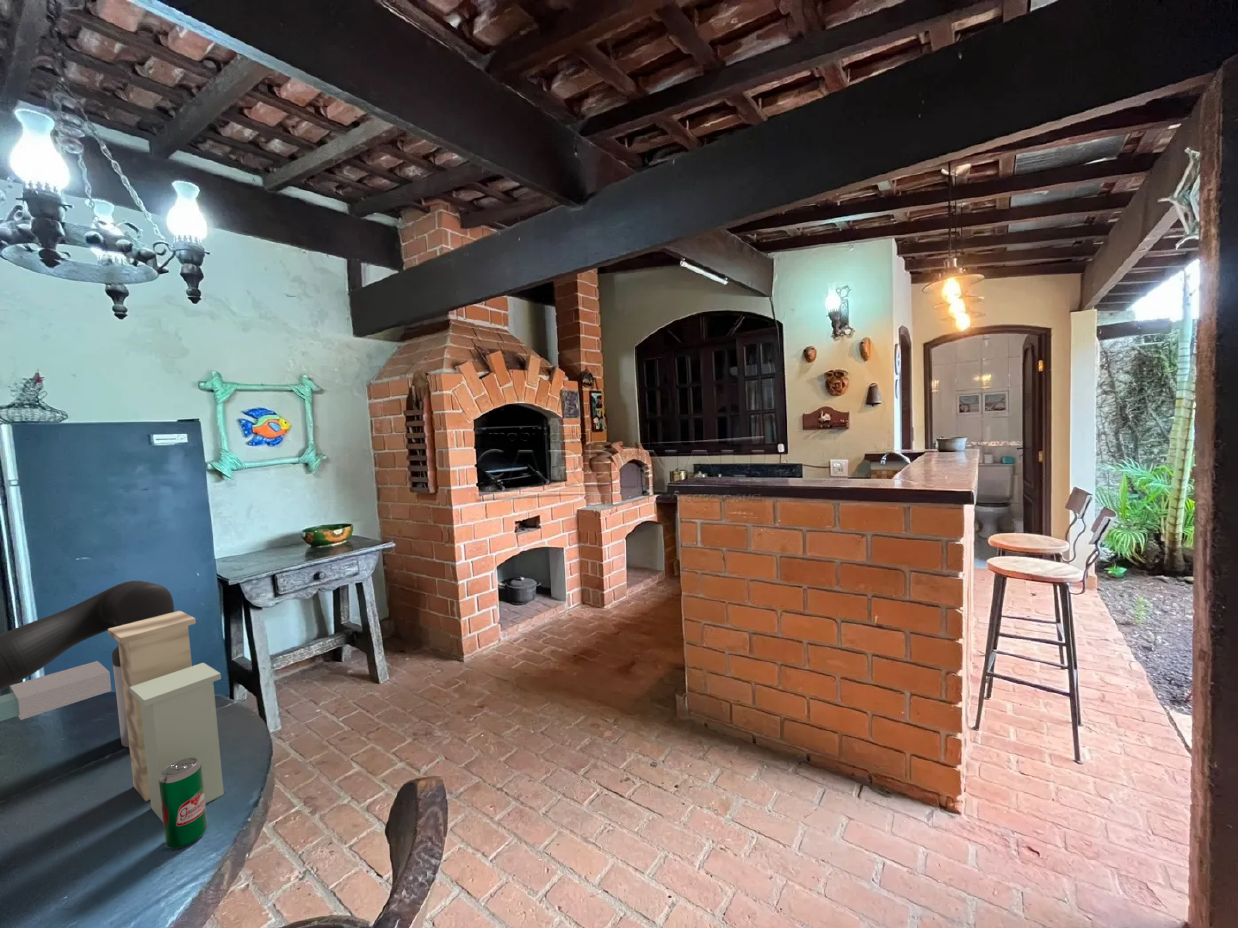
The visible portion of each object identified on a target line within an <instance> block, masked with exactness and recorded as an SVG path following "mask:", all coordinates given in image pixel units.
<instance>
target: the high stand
mask: <svg viewBox="0 0 1238 928" xmlns="http://www.w3.org/2000/svg"><path fill="white" fill-rule="evenodd" d="M196 623H197V621H196V618H195V617H194V616H192V615H189V614H188V613H186V612H184V611H182V610H177V611H174V612H172V613H168V614H164V615H160V616H156V617H153V618H149V619H145V620H141V621H137V622H133V623H129V624H125V625H121V626H117V627H113V628H109V629H108V631H107V633H108V636H110V637H111V638H113V639H114V640H116V642H117V647H118V646H119V656H120V665H121V674H122V683H123V692H124V702H125V711H126V720H127V729H128V738H129V747H128V748H129V754H130V755H129V756H130V763H131V764H130V765H131V773H132V782H133V785H132V786H133V788H134V789H135V790H136V791H137V792H138V793H139V795H140V796H141V797H142V799H143V800H144V801H145V802H147V801H149V800H150V790H149V781H148V772H147V762H146V753H145V743H144V734H143V724H142V715H141V706H140V701H139V700H137V699H136V698H135V697H134V696H133V695H132V694H131V693H130V688H129V687H131V686H134V685H137V684H140V683H143V682H146V681H149V680H152V679H155V678H158V677H161V676H164V675H167V674H170V673H173V672H176V671H179V670H182V669H185V668H188V667H191V666H193V664H192V663H193V662H192V661H193V660H192V653H191V643H190V642H191V641H190V634H189V633H190V632H189V627H190V626H192V625H195V624H196ZM150 801H151V800H150Z"/></svg>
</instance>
